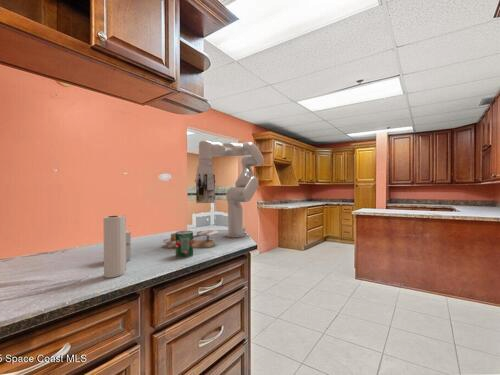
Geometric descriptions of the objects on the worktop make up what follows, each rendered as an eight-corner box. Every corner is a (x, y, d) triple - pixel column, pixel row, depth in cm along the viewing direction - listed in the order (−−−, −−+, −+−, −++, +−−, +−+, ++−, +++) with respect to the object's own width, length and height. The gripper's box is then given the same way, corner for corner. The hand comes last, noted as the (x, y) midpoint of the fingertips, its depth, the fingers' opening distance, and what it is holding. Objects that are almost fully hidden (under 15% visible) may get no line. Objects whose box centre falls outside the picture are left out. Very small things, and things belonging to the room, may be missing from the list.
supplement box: (112, 264, 101) (112, 234, 101) (106, 261, 106) (106, 232, 106) (131, 260, 107) (130, 231, 107) (124, 257, 112) (124, 229, 112)
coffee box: (215, 202, 139) (215, 174, 139) (207, 203, 133) (207, 173, 133) (203, 202, 144) (203, 175, 144) (195, 203, 138) (195, 174, 139)
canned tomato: (196, 255, 114) (196, 231, 114) (182, 259, 108) (182, 234, 108) (186, 252, 119) (186, 230, 119) (172, 256, 113) (171, 232, 113)
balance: (160, 248, 127) (160, 235, 127) (166, 243, 139) (166, 231, 139) (218, 247, 129) (218, 234, 129) (219, 242, 141) (219, 230, 141)
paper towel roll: (103, 279, 84) (103, 217, 85) (104, 274, 90) (103, 216, 90) (126, 275, 88) (126, 216, 88) (126, 270, 93) (125, 214, 93)
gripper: (210, 164, 148) (210, 194, 148) (189, 161, 133) (189, 194, 133) (220, 163, 144) (220, 194, 144) (199, 161, 129) (199, 194, 129)
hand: (205, 194), depth 138 cm, fingers closed on coffee box, 6 cm apart
